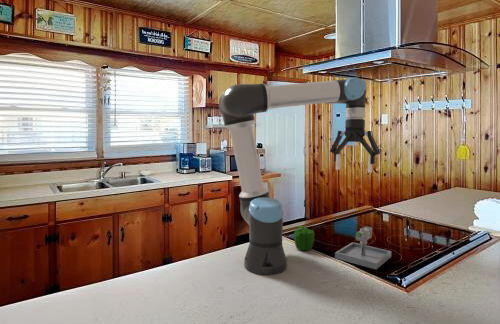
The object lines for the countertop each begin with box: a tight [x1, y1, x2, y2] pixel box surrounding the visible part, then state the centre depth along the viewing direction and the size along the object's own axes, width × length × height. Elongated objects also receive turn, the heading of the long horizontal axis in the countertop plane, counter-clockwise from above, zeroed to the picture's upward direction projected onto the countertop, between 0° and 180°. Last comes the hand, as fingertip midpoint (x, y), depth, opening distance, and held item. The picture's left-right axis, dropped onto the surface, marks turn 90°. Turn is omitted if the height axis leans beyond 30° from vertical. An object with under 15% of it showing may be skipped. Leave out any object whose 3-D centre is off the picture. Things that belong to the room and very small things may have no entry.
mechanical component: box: [355, 225, 373, 256], centre depth 125 cm, size 3×10×10 cm, turn 138°
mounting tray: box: [334, 242, 392, 270], centre depth 125 cm, size 16×16×2 cm
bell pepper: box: [293, 224, 315, 251], centre depth 134 cm, size 8×8×10 cm
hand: (353, 171), depth 135 cm, fingers open, 13 cm apart
